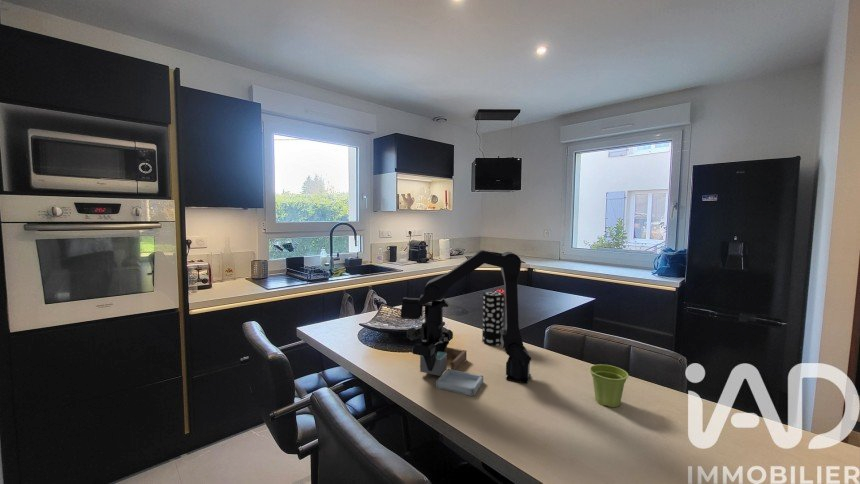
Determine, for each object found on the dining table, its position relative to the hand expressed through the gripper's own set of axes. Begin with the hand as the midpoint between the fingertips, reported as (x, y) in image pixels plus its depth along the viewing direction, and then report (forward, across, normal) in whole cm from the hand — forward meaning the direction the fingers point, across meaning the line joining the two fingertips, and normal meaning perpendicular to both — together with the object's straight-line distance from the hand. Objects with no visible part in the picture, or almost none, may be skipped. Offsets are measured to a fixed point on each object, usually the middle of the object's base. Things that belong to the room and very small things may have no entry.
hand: (433, 367), depth 112 cm
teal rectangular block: (+1, 0, 0) cm, 1 cm away
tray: (+2, +3, +10) cm, 11 cm away
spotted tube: (+3, -38, +9) cm, 39 cm away
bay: (+2, -10, 0) cm, 10 cm away
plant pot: (+3, -6, +50) cm, 50 cm away
